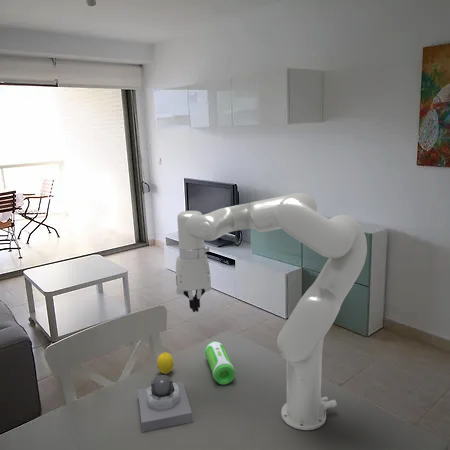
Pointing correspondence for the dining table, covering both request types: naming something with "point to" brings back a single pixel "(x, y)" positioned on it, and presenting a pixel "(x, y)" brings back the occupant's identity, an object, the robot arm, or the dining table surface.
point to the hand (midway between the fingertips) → (194, 310)
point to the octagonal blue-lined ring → (163, 399)
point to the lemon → (165, 363)
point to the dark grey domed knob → (162, 385)
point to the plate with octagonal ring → (164, 412)
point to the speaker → (219, 363)
